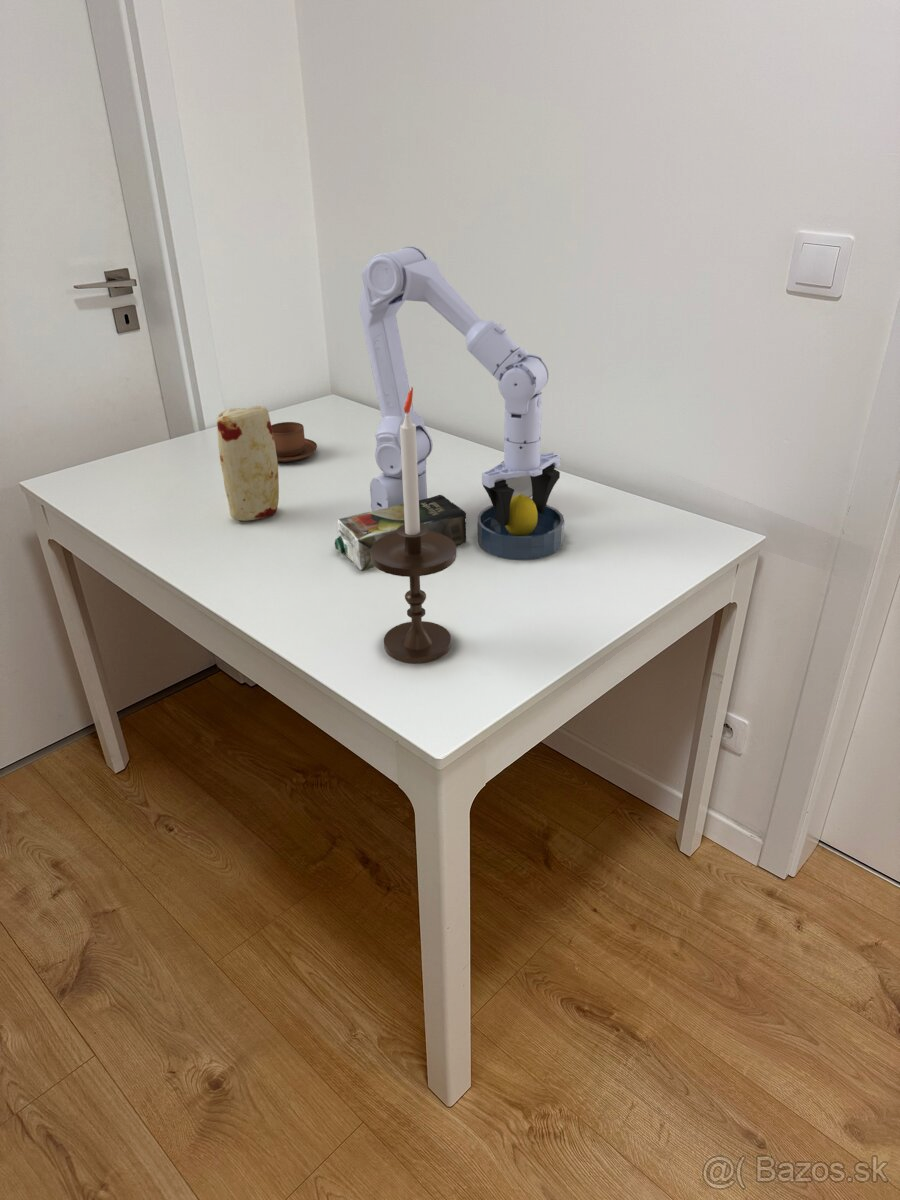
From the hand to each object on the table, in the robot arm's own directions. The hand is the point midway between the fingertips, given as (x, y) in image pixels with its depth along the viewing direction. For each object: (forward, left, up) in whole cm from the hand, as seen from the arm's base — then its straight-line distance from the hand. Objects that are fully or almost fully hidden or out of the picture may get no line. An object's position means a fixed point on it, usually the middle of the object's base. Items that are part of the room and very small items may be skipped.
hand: (520, 517), depth 138 cm
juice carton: (-17, +10, -4) cm, 20 cm away
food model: (-31, +36, -4) cm, 48 cm away
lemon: (0, 0, -4) cm, 4 cm away
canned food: (+11, +15, -1) cm, 19 cm away
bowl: (0, 0, -4) cm, 4 cm away
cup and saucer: (-13, +60, -4) cm, 62 cm away
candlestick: (-31, -16, -4) cm, 35 cm away
